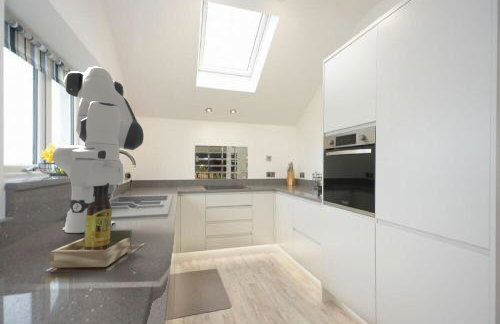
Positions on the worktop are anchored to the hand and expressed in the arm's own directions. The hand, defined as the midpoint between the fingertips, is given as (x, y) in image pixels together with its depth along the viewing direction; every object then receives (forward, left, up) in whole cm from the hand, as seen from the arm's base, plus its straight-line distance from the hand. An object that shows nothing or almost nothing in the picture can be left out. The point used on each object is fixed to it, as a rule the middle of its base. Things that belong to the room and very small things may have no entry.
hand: (99, 200), depth 67 cm
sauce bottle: (0, 0, -15) cm, 15 cm away
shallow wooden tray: (+1, 0, -17) cm, 17 cm away
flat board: (-3, 0, -18) cm, 18 cm away
